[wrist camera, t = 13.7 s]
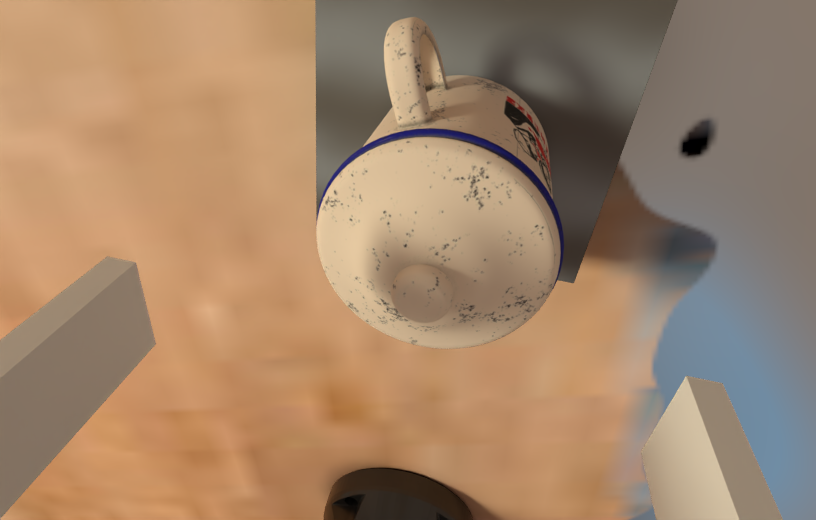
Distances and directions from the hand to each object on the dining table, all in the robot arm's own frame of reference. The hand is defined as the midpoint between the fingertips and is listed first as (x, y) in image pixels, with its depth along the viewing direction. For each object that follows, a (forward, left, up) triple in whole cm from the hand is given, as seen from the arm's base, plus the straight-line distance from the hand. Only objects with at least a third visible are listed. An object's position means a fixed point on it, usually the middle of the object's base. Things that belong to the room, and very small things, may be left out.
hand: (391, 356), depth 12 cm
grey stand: (0, 0, -19) cm, 19 cm away
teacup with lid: (0, 0, -16) cm, 16 cm away
